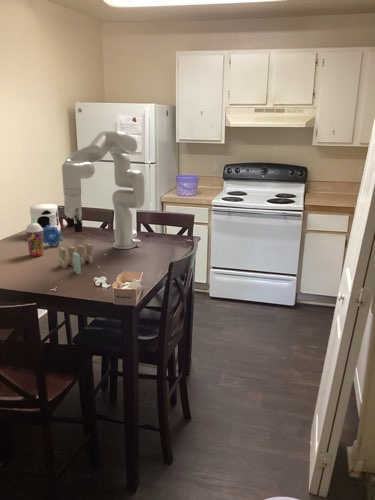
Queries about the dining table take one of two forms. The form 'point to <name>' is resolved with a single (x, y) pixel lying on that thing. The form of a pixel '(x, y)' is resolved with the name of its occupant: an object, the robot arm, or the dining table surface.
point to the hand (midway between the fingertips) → (74, 229)
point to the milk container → (45, 215)
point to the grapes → (51, 235)
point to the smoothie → (35, 239)
